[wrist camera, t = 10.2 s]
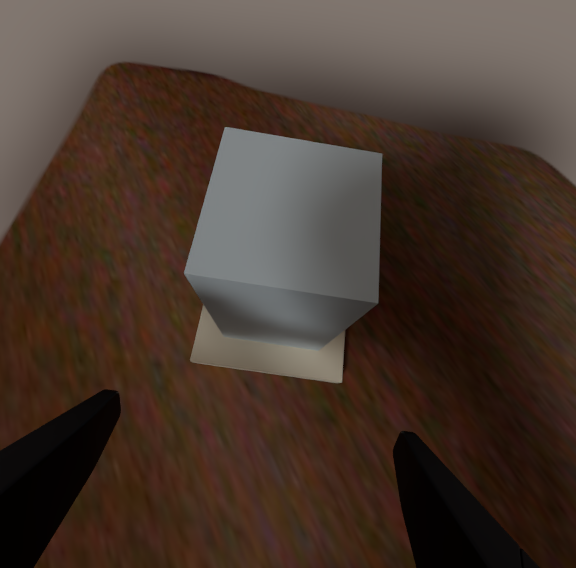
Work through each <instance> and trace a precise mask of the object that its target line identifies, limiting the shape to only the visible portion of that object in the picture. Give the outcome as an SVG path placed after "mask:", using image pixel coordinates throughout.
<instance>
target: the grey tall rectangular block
mask: <svg viewBox="0 0 576 568" xmlns="http://www.w3.org/2000/svg"><path fill="white" fill-rule="evenodd" d="M381 180H382V154H381V153H375V152H369V151H363V150H358V149H352V148H346V147H340V146H334V145H328V144H322V143H316V142H311V141H305V140H299V139H293V138H287V137H281V136H275V135H269V134H263V133H258V132H252V131H246V130H240V129H234V128H228V127H225V129H224V133H223V136H222V140H221V143H220V147H219V150H218V154H217V158H216V161H215V165H214V168H213V172H212V175H211V179H210V182H209V186H208V190H207V193H206V197H205V200H204V204H203V207H202V211H201V214H200V218H199V222H198V225H197V229H196V232H195V236H194V239H193V243H192V246H191V250H190V254H189V257H188V261H187V264H186V268H185V271H184V274H185V276H186V277H187V279H188V281H189V282H190V284H191V285H192V287H193V289H194V290H195V292H196V293H197V295H198V296H199V298H200V300H201V301H202V303H203V304H204V306H205V308H206V309H207V311H208V312H209V314H210V315H211V317H212V319H213V320H214V322H215V323H216V325H217V327H218V328H219V330H220V331H221V333H222V335H223V336H224V337H229V338H236V339H242V340H249V341H256V342H263V343H269V344H276V345H283V346H290V347H296V348H303V349H310V350H316V351H319V350H320V349H321V348H323V347H324V346H325V345H327V344H328V343H329V342H330V341H332V340H333V339H334V338H335V337H337V336H338V335H339V334H340V333H342V332H343V331H344V330H345V329H347V328H348V327H349V326H350V325H352V324H353V323H354V322H356V321H357V320H358V319H359V318H361V317H362V316H363V315H364V314H366V313H367V312H368V311H369V310H371V309H372V308H373V307H374V306H376V305H377V304H378V297H379V258H380V219H381Z"/></svg>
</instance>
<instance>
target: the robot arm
mask: <svg viewBox="0 0 576 568" xmlns="http://www.w3.org/2000/svg"><path fill="white" fill-rule="evenodd" d="M120 413H121V406H120V396H119V392H118V391H114V390H107V389H106V390H102V391H101V392H99V393H97V394H95V395H94V396H92V397H90V398H89V399H87V400H85V401H84V402H82V403H80V404H78V405H77V406H75V407H73V408H72V409H70V410H68V411H67V412H65V413H63V414H62V415H60V416H58V417H56V418H55V419H53V420H51V421H50V422H48V423H46V424H45V425H43V426H41V427H39V428H38V429H36V430H34V431H33V432H31V433H29V434H28V435H26V436H24V437H23V438H21V439H19V440H17V441H16V442H14V443H12V444H11V445H9V446H7V447H6V448H4V449H2V450H0V568H34V566H35V565H36V563H37V561H38V560H39V558H40V556H41V555H42V553H43V552H44V550H45V548H46V547H47V545H48V543H49V542H50V540H51V538H52V537H53V535H54V534H55V532H56V530H57V529H58V527H59V525H60V524H61V522H62V520H63V519H64V517H65V516H66V514H67V512H68V511H69V509H70V507H71V506H72V504H73V503H74V501H75V499H76V498H77V496H78V494H79V493H80V491H81V489H82V488H83V486H84V485H85V483H86V481H87V480H88V478H89V476H90V475H91V473H92V471H93V469H94V468H95V466H96V464H97V462H98V460H99V458H100V456H101V454H102V452H103V450H104V448H105V446H106V444H107V442H108V440H109V437H110V435H111V433H112V431H113V429H114V427H115V425H116V423H117V421H118V419H119V417H120ZM393 458H394V465H395V471H396V478H397V484H398V490H399V497H400V502H401V508H402V512H403V517H404V521H405V525H406V528H407V532H408V536H409V540H410V544H411V548H412V552H413V556H414V560H415V564H416V568H540V567H539V566H538V565H537V564H536V563H535V562H534V561H533V560H532V559H531V558H530V557H529V556H528V555H527V553H526V552H525V551H524V550H523V549H521V548H520V547H519V545H518V544H517V543H516V542H515V541H514V540H513V538H512V537H511V536H510V535H509V534H508V533H507V532H506V531H505V530H504V529H503V528H502V527H501V525H500V524H499V523H498V522H497V521H496V520H495V519H494V518H493V517H492V516H491V515H490V514H489V512H488V511H487V510H486V509H485V508H484V507H483V506H482V505H481V504H480V503H479V502H478V501H477V499H476V498H475V497H474V496H473V495H472V494H471V493H470V492H469V491H468V490H467V489H466V488H465V486H464V485H463V484H462V483H461V482H460V481H459V480H458V479H457V478H456V477H455V476H454V475H453V473H452V472H451V471H450V470H449V469H448V468H447V467H446V466H445V465H444V464H443V463H442V462H441V460H440V459H439V458H438V457H437V456H436V455H435V454H434V453H433V452H432V451H431V450H430V449H429V447H428V446H427V445H426V444H425V443H424V442H423V441H422V440H421V439H420V438H419V437H418V436H417V435H416V434H415V433H413V432H408V431H401V432H400V434H399V436H398V438H397V441H396V443H395V446H394V448H393Z"/></svg>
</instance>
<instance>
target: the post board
mask: <svg viewBox="0 0 576 568" xmlns="http://www.w3.org/2000/svg"><path fill="white" fill-rule="evenodd" d="M344 341H345V330H344V331H343V332H342V333H340V334H339V335H338V336H337V337H335V338H334V339H333V340H332V341H330V342H329V343H328V344H327V345H325V346H324V347H323V348H321V349H320V350H319V351H316V350H310V349H303V348H296V347H290V346H283V345H276V344H269V343H263V342H256V341H249V340H242V339H236V338H229V337H224V336H223V335H222V333H221V331H220V330H219V328H218V327H217V325H216V323H215V322H214V320H213V319H212V317H211V315H210V314H209V312H208V311H207V309H206V308H205V306H204V305H203V309H202V313H201V317H200V322H199V326H198V330H197V334H196V338H195V342H194V346H193V350H192V355H191V359H190V361H191V362H193V363H199V364H206V365H213V366H220V367H228V368H235V369H242V370H249V371H256V372H263V373H270V374H277V375H284V376H291V377H298V378H305V379H312V380H319V381H326V382H333V383H342V373H343V357H344Z"/></svg>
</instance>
